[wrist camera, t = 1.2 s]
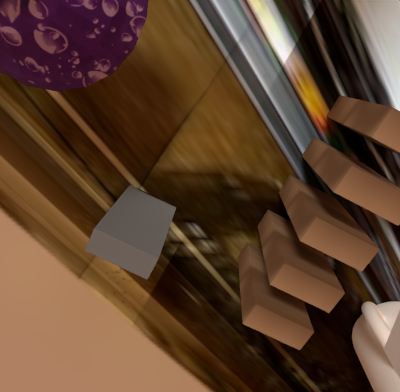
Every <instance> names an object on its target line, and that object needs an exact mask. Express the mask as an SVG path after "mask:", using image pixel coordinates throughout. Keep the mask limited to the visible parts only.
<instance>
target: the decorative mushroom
mask: <svg viewBox="0 0 400 392" xmlns="http://www.w3.org/2000/svg"><path fill="white" fill-rule="evenodd" d="M147 8H148V0H0V72H2V73H4V74H6V75H8V76H10V77H12V78H14V79H16V80H17V81H19V82H21V83H23V84H25V85H27V86H31V87H36V88H42V89H48V90H53V91H63V90H70V89H76V88H82V87H87V86H89V85H91V84H93V83H95V82H97V81H99V80H101V79H103V78H105V77H107V76H109V75H110V74H112V73H113V72H114V71H115V70H116V69H117V68H118V67H119V66H120V64H121V63H122V62H123V61H124V60H125V59H126V57H127V56H128V55H129V54H130V53H131V52H132V51H133V49H134V47H135V44H136V42H137V40H138V37H139V35H140V32H141V30H142V28H143V25H144V23H145V20H146V17H147Z"/></svg>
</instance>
